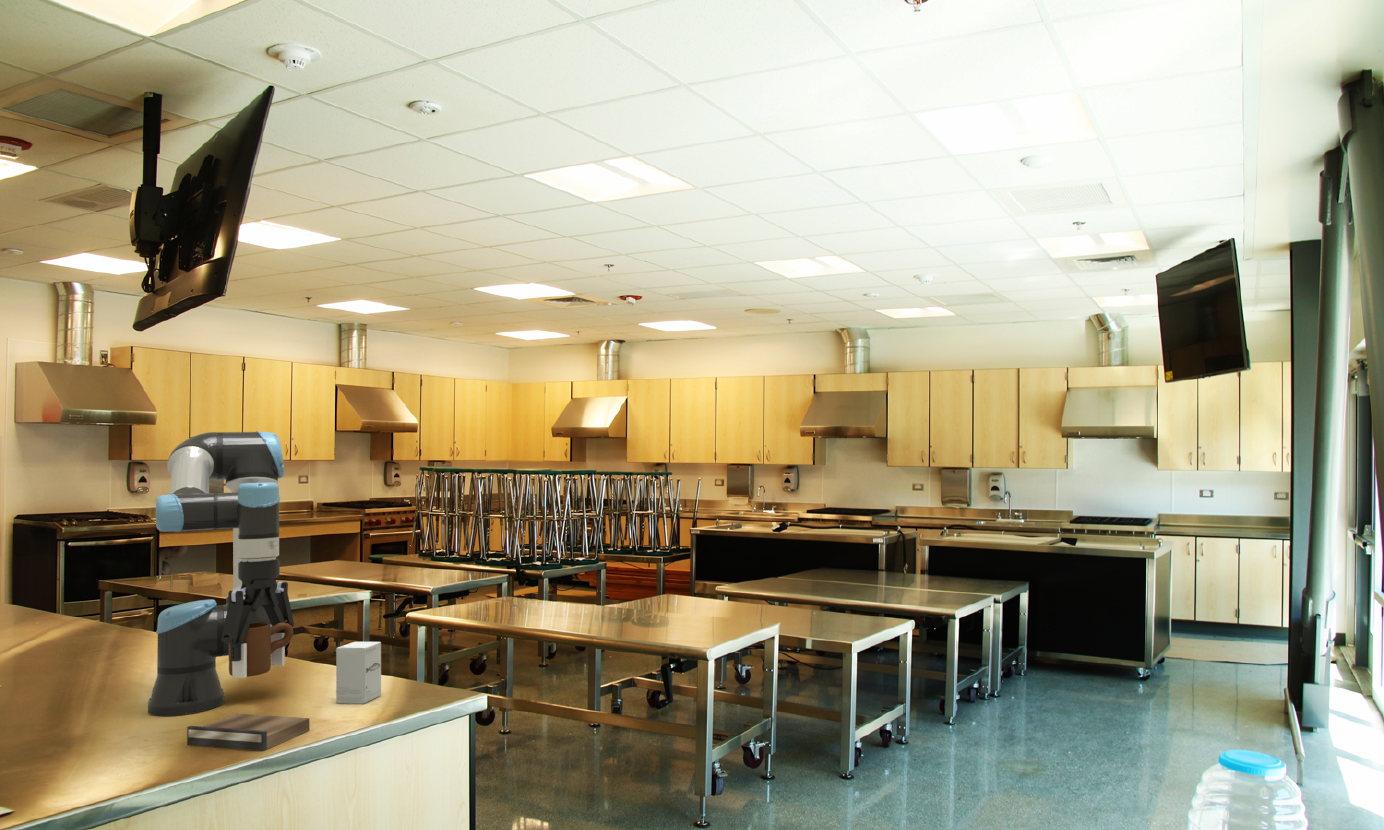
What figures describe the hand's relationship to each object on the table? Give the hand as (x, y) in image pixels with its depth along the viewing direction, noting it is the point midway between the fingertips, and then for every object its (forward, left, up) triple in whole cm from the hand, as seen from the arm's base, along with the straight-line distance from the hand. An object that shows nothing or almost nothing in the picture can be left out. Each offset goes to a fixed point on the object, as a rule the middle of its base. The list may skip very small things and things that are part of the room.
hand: (259, 671), depth 179 cm
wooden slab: (-2, 0, -13) cm, 13 cm away
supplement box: (+2, +29, -13) cm, 32 cm away
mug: (0, +1, 0) cm, 1 cm away
